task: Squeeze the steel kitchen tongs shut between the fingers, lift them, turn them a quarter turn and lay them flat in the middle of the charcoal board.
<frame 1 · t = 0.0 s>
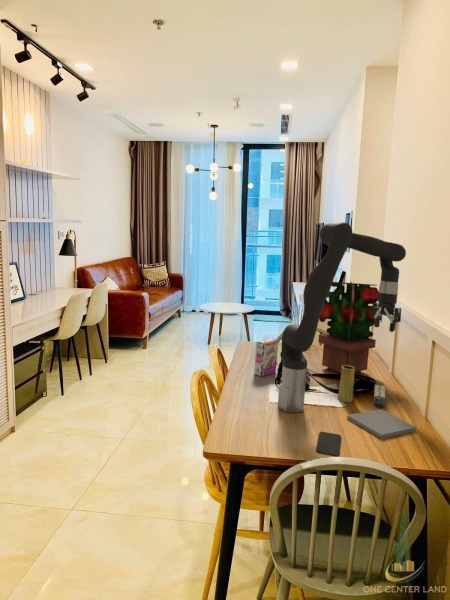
hand: (384, 329, 189), 29 cm above the table, tool pointing down, fingers open, 8 cm apart
condiment: (268, 363, 233), on the table
phone: (328, 445, 146), on the table
vase: (345, 400, 186), on the table
candy bar box: (265, 374, 215), on the table
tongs: (378, 399, 187), on the table
potted plant: (343, 371, 225), on the table
charcoal board: (380, 424, 163), on the table
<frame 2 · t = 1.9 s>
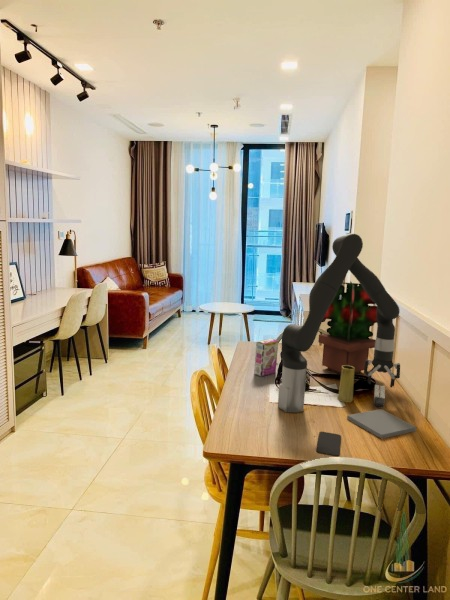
hand: (380, 385, 187), 6 cm above the table, tool pointing down, fingers open, 8 cm apart
nothing on the table moved.
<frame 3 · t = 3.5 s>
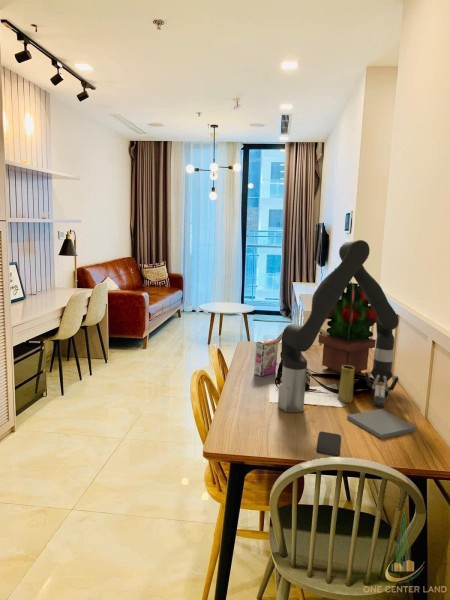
hand: (379, 397, 187), 1 cm above the table, tool pointing down, fingers closed on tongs, 4 cm apart
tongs: (378, 399, 187), on the table, touching gripper
everything else where it was.
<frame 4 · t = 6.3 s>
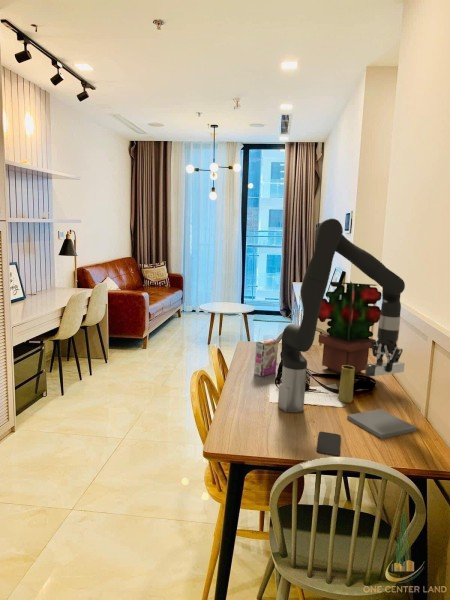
hand: (383, 369, 173), 17 cm above the table, tool pointing down, fingers closed on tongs, 4 cm apart
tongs: (383, 372, 173), point 16 cm above the table, touching gripper
everything else where it was.
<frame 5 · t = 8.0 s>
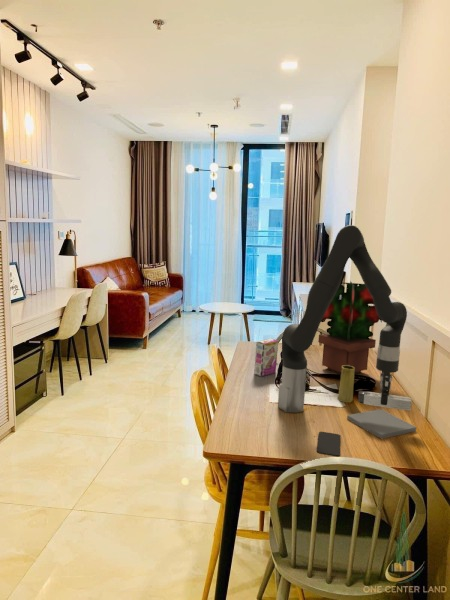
hand: (383, 402, 162), 9 cm above the table, tool pointing down, fingers closed on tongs, 4 cm apart
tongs: (383, 404, 162), point 7 cm above the table, touching gripper
everything else where it was.
when the fingers open (4 cm above the table, at t = 9.5 s): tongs drops 1 cm, resting on charcoal board.
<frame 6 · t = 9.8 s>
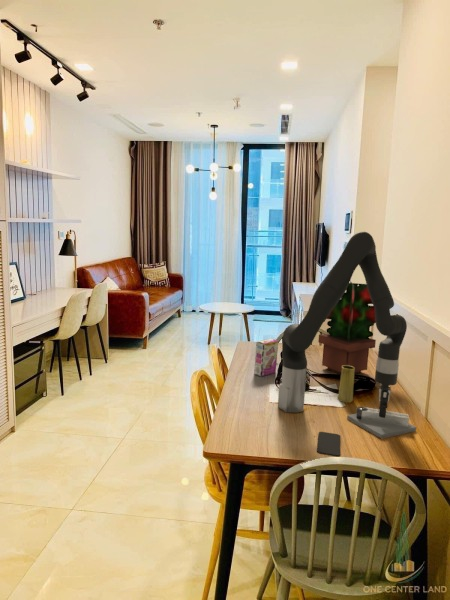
hand: (382, 413, 162), 5 cm above the table, tool pointing down, fingers open, 6 cm apart
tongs: (381, 421, 163), point 1 cm above the table, touching charcoal board
everything else where it was.
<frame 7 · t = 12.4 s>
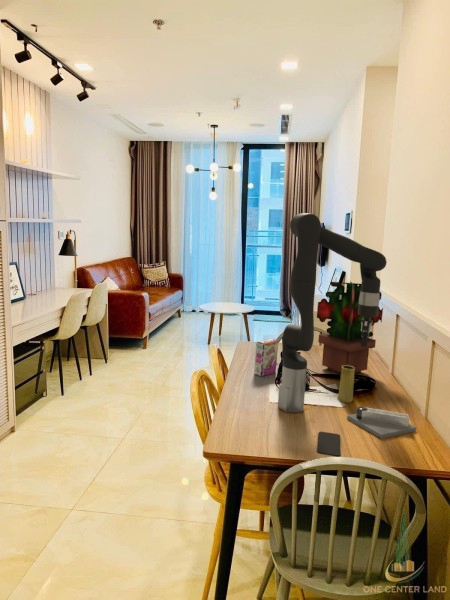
hand: (364, 344, 175), 26 cm above the table, tool pointing down, fingers open, 8 cm apart
nothing on the table moved.
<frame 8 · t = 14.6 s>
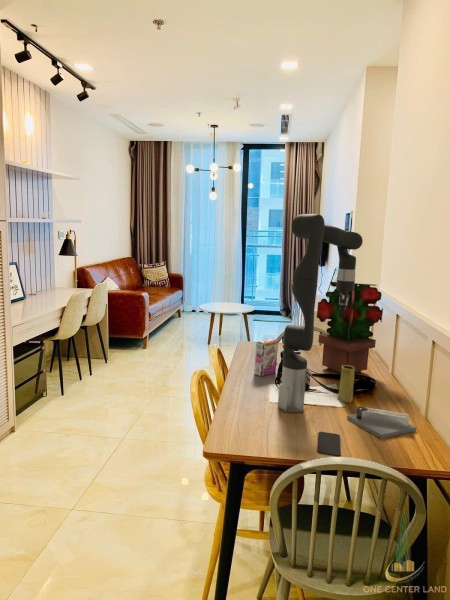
hand: (342, 316, 193), 33 cm above the table, tool pointing down, fingers open, 8 cm apart
nothing on the table moved.
at the end: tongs inside the target area on the charcoal board (0.0 cm from its centre), point 1.5 cm above the charcoal board's base; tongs moved 26.2 cm from its start; the gripper is holding nothing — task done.
